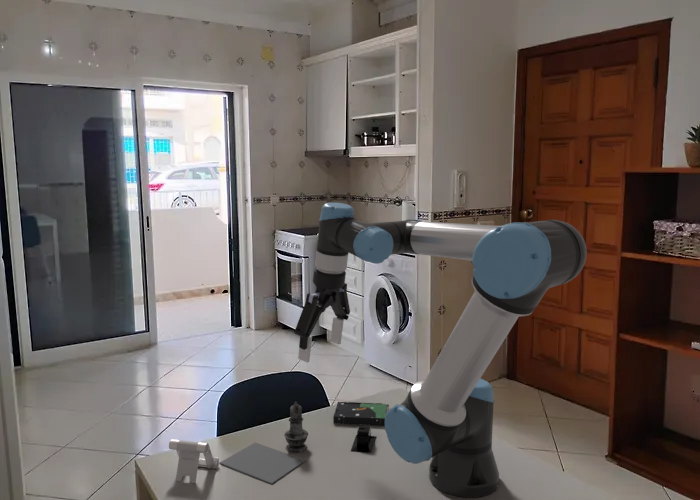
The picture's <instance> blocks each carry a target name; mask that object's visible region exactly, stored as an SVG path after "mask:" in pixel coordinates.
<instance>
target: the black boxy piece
mask: <svg viewBox="0 0 700 500" xmlns="http://www.w3.org/2000/svg"><path fill="white" fill-rule="evenodd" d="M371 427H372V426H371V425H358V429H357V432H356V435H355V437H354V440H353V443H352V445H351V448H350V452H352V453H362V454H363V453H365V454H372V453H373V450H374V447H375V444H376V442H377V441H376V440H377V436H375V435H372V429H371Z"/></svg>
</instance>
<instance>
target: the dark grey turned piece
mask: <svg viewBox="0 0 700 500" xmlns="http://www.w3.org/2000/svg"><path fill="white" fill-rule="evenodd" d="M289 410H290V411H289V412H290V413H289V418H288V422H289V429H288V430H286V431H285V432H284V435H283V436H284V437H285V442H286V443H287V445H286V446H285V450H286V451H287V452H288V453H292V454H298V453H299V454H300V453H303V452H305V451H306V450H307V449H308V445H307V444H306V441H307V440H308V439H307V438H308V436H309V432H308V431H307V430H305V429H303V421H304V418H303V416H302V415H303V413H302V410H303V408H302V406H301V405H300V404H298V402H297V401H294V404H293V405H291V406H290V408H289Z"/></svg>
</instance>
